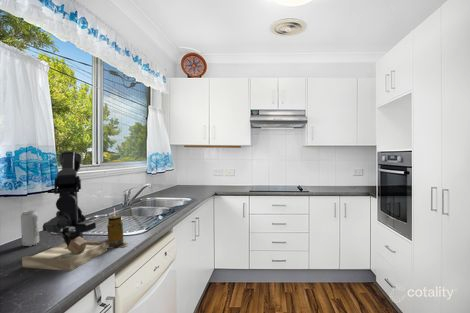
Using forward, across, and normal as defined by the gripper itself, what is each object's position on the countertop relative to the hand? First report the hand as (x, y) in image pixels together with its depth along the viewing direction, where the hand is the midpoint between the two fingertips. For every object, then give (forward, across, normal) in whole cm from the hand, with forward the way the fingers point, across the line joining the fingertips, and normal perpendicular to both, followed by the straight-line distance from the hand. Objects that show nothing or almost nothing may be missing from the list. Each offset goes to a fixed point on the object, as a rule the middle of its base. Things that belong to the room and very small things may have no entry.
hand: (70, 248), depth 100 cm
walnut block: (0, +2, 0) cm, 2 cm away
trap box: (+4, -2, 0) cm, 4 cm away
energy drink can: (+4, -32, +11) cm, 34 cm away
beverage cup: (+4, +1, +24) cm, 25 cm away
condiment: (+4, +8, +16) cm, 19 cm away
